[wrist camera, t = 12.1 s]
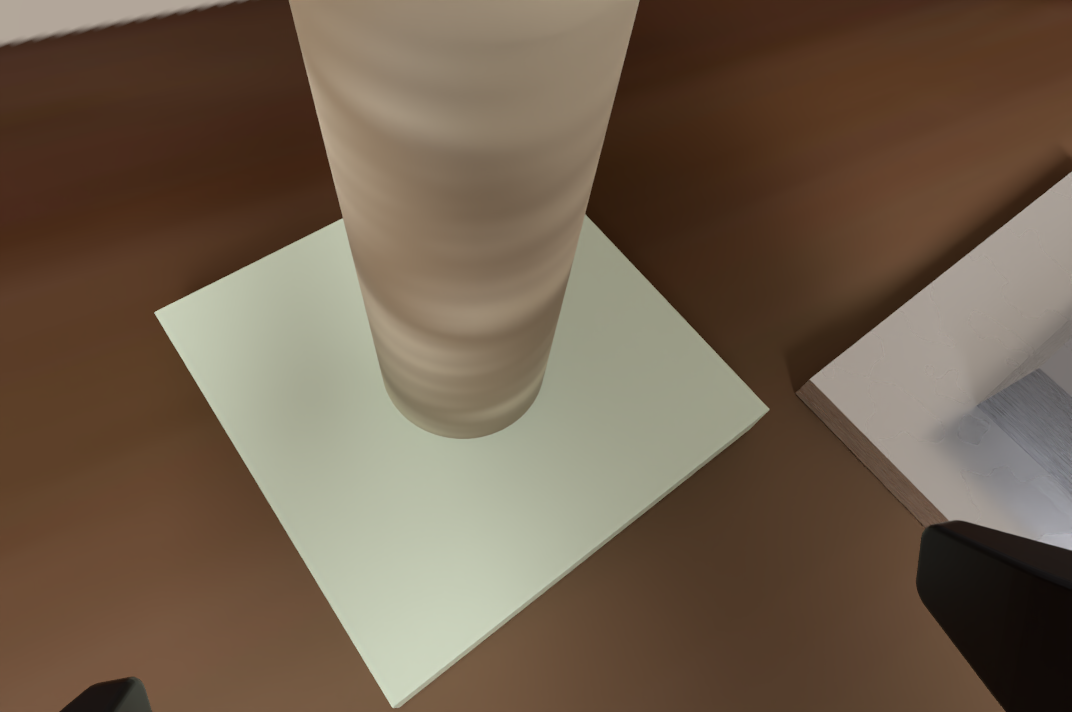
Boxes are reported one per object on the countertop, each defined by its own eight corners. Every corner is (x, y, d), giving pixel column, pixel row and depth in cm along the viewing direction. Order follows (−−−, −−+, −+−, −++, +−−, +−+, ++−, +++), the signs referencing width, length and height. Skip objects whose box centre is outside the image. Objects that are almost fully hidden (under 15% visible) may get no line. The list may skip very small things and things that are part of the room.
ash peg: (561, 317, 20) (681, -140, 9) (519, 459, 18) (607, 89, 7) (414, 275, 20) (358, -225, 9) (356, 410, 18) (195, -24, 7)
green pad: (749, 429, 20) (769, 409, 19) (399, 707, 16) (392, 707, 15) (507, 166, 24) (510, 134, 23) (175, 338, 20) (154, 312, 19)
